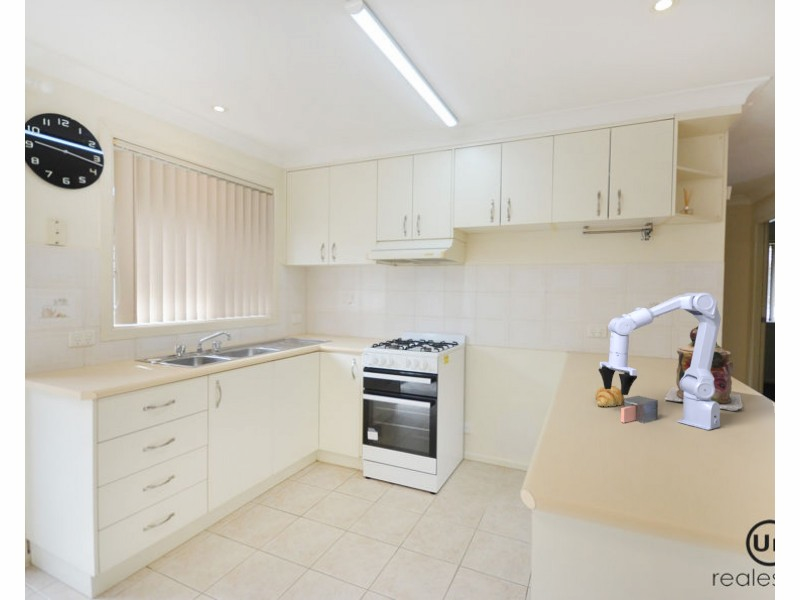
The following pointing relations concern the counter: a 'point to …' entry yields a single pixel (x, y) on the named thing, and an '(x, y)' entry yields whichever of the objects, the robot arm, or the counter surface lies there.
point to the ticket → (629, 413)
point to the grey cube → (644, 407)
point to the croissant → (609, 396)
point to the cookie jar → (719, 370)
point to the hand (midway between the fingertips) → (615, 391)
